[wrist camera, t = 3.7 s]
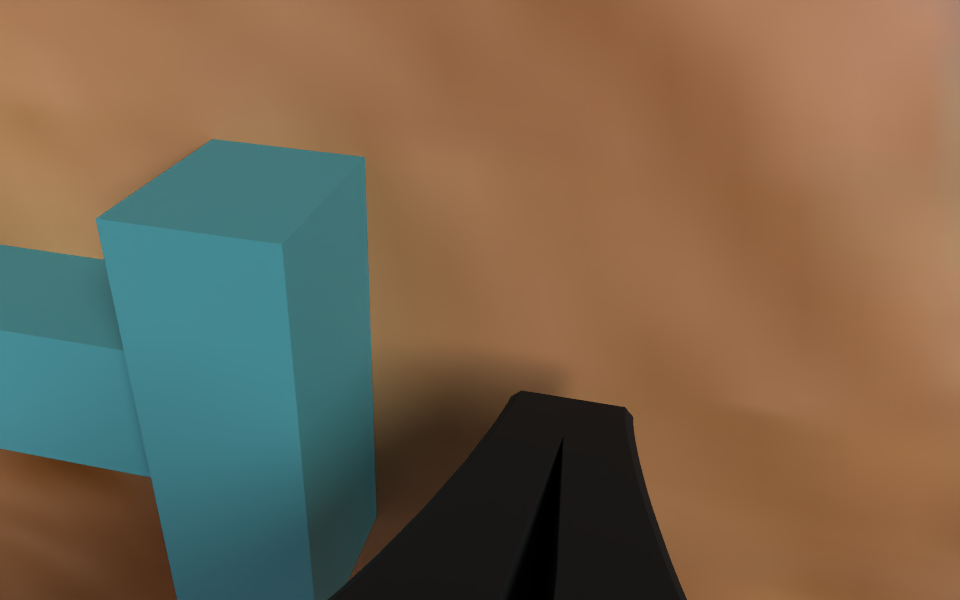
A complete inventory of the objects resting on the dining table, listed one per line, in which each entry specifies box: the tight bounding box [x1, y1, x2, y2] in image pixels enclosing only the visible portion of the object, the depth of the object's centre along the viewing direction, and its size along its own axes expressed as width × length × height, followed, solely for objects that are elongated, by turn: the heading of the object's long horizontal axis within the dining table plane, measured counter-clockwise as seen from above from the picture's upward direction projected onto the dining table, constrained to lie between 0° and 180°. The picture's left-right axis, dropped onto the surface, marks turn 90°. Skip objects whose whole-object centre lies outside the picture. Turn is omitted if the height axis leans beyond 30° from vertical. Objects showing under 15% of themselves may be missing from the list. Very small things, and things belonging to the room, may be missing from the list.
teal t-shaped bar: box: [0, 139, 377, 600], centre depth 11 cm, size 6×9×2 cm, turn 88°
